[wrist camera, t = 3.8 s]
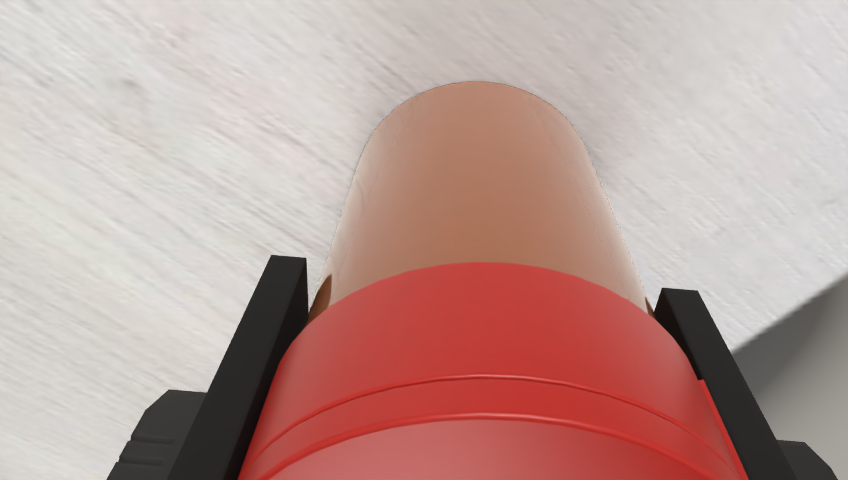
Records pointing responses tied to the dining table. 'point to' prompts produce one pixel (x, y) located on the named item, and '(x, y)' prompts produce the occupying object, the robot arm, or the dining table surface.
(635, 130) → the dining table surface
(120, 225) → the dining table surface
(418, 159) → the jar
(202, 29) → the dining table surface
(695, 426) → the lid
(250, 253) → the dining table surface
